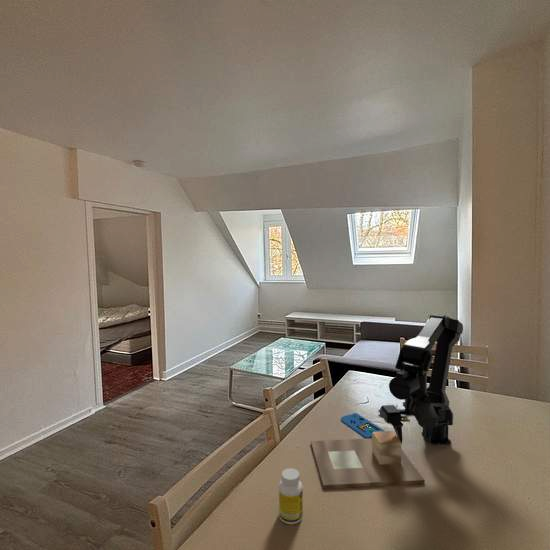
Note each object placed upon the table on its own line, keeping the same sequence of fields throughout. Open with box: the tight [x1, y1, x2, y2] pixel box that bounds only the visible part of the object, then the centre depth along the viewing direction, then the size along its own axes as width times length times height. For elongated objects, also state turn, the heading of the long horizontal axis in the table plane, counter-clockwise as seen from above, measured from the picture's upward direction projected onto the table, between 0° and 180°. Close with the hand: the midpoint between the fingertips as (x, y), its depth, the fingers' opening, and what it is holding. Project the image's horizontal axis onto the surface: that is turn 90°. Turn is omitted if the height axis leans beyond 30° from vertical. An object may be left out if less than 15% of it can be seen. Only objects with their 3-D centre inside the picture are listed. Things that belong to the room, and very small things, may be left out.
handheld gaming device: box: [340, 412, 385, 439], centre depth 113 cm, size 8×1×15 cm
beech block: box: [372, 430, 402, 464], centre depth 93 cm, size 6×6×6 cm
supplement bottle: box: [278, 467, 304, 525], centre depth 74 cm, size 5×5×10 cm
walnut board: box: [310, 438, 426, 490], centre depth 93 cm, size 26×20×1 cm
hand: (415, 442), depth 93 cm, fingers open, 8 cm apart
